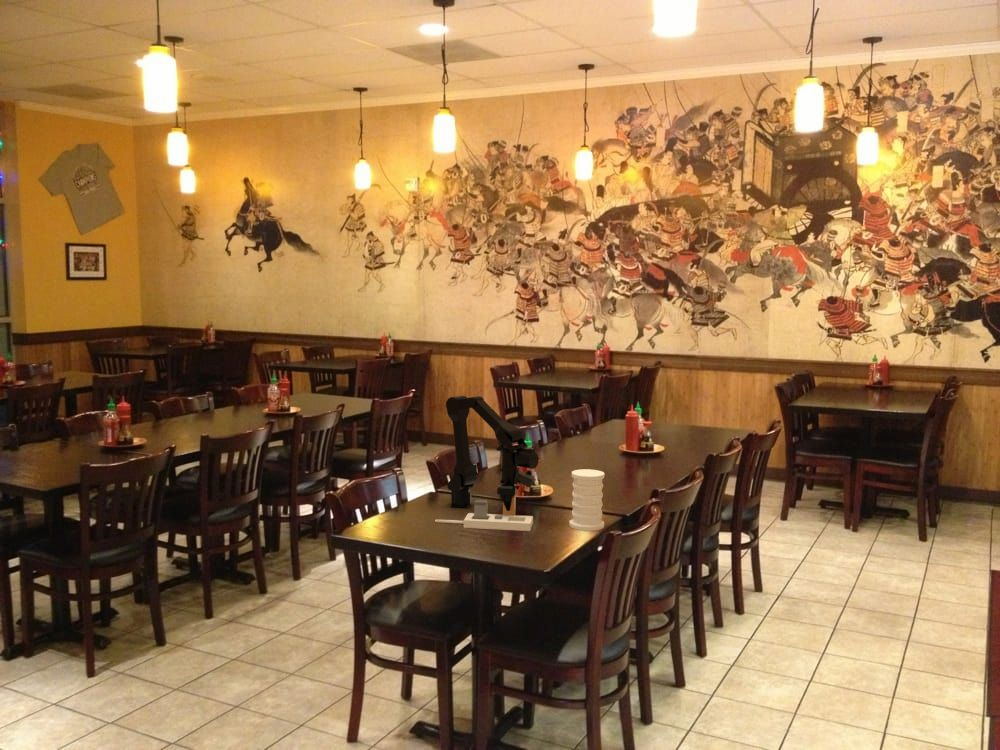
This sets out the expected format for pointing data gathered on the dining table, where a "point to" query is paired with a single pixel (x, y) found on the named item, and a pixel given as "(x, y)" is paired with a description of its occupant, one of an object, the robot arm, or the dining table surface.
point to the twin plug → (480, 509)
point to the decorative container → (587, 500)
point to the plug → (512, 509)
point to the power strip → (495, 522)
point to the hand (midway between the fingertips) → (509, 509)
